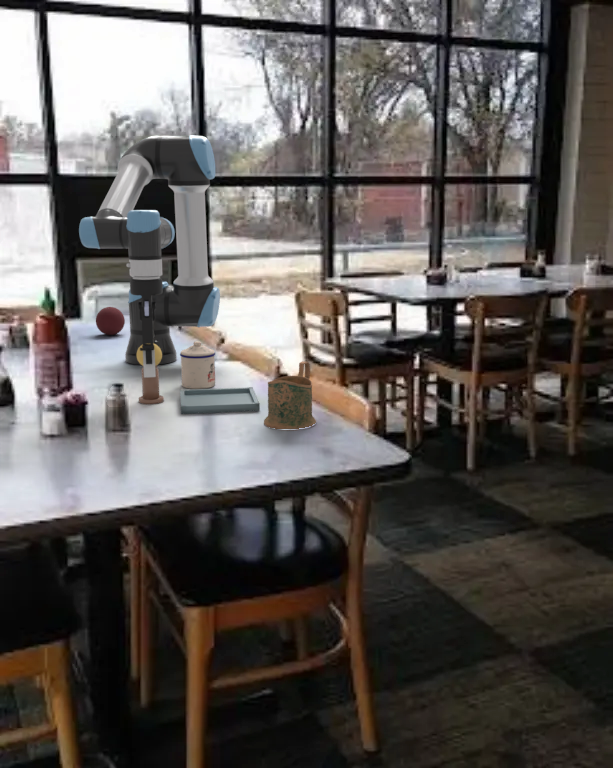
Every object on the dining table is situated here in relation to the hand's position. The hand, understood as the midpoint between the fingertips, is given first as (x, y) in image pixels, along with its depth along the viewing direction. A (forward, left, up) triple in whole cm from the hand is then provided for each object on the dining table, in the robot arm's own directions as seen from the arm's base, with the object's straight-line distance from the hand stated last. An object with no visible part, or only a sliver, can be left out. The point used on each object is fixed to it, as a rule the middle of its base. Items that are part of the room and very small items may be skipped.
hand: (150, 373), depth 191 cm
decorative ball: (-96, -16, -7) cm, 98 cm away
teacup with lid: (-16, +12, -7) cm, 21 cm away
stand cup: (0, 0, -7) cm, 7 cm away
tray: (+5, +16, -7) cm, 18 cm away
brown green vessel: (+21, +32, -7) cm, 39 cm away
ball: (0, 0, +5) cm, 5 cm away
